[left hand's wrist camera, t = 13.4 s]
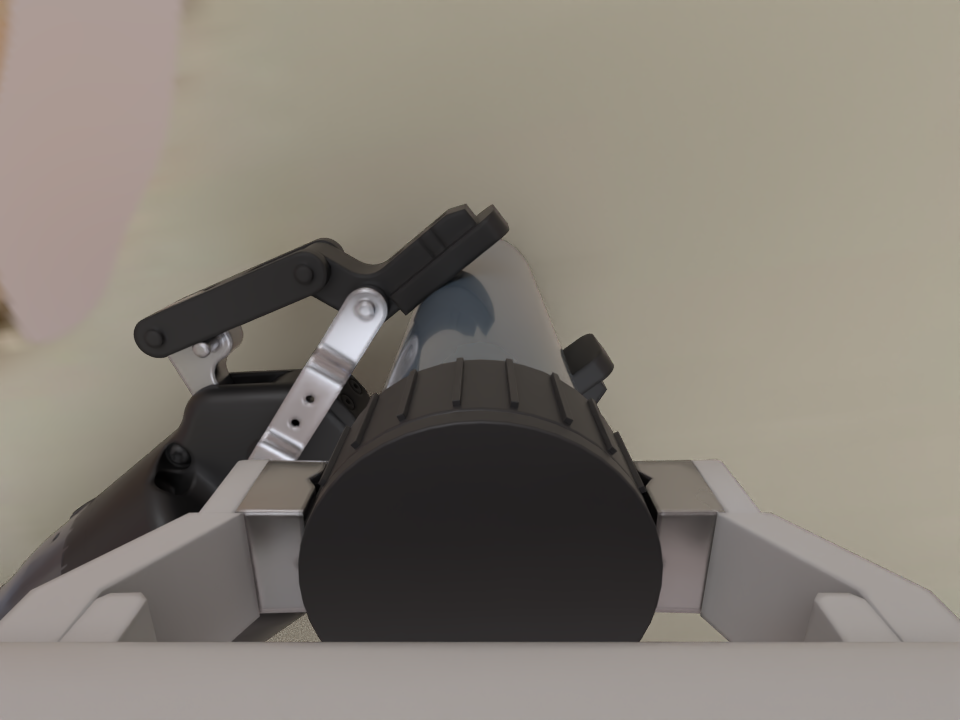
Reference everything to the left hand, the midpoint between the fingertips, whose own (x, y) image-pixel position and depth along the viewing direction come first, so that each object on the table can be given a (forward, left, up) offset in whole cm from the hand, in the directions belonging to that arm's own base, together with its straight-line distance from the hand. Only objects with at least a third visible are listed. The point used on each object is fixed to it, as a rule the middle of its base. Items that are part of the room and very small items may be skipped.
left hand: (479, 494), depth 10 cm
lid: (0, 0, +2) cm, 2 cm away
